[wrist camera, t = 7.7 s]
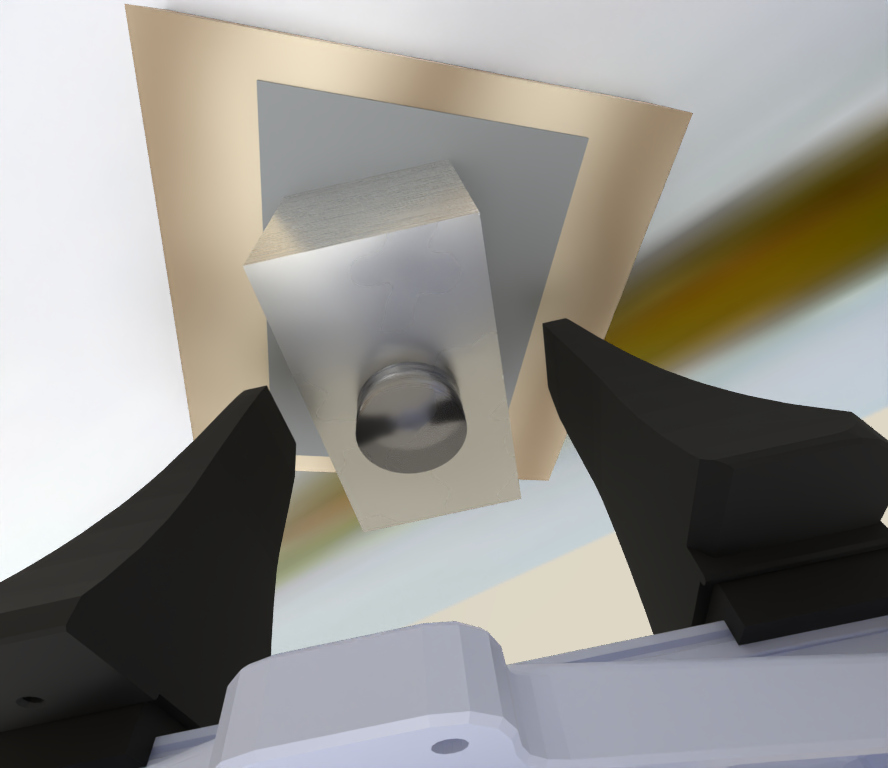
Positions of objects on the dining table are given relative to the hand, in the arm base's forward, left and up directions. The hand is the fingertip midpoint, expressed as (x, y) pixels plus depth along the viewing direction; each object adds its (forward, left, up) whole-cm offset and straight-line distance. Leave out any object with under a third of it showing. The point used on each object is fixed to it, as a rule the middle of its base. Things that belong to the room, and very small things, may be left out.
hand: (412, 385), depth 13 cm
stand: (0, 0, -6) cm, 6 cm away
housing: (0, 0, -4) cm, 4 cm away
